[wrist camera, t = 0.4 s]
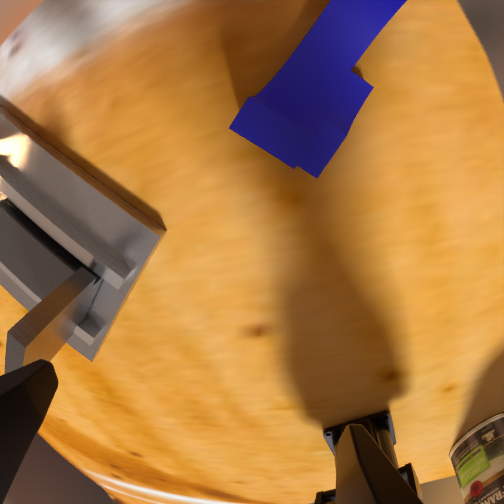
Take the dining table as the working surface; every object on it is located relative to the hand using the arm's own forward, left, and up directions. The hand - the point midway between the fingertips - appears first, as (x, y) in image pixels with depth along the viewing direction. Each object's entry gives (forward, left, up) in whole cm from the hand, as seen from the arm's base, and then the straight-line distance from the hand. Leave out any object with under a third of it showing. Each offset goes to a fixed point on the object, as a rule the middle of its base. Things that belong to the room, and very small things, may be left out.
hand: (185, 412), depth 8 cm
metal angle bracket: (+5, +13, -11) cm, 18 cm away
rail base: (+7, +15, -13) cm, 21 cm away
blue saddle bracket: (+8, -9, -13) cm, 18 cm away
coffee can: (-35, -18, -13) cm, 42 cm away
